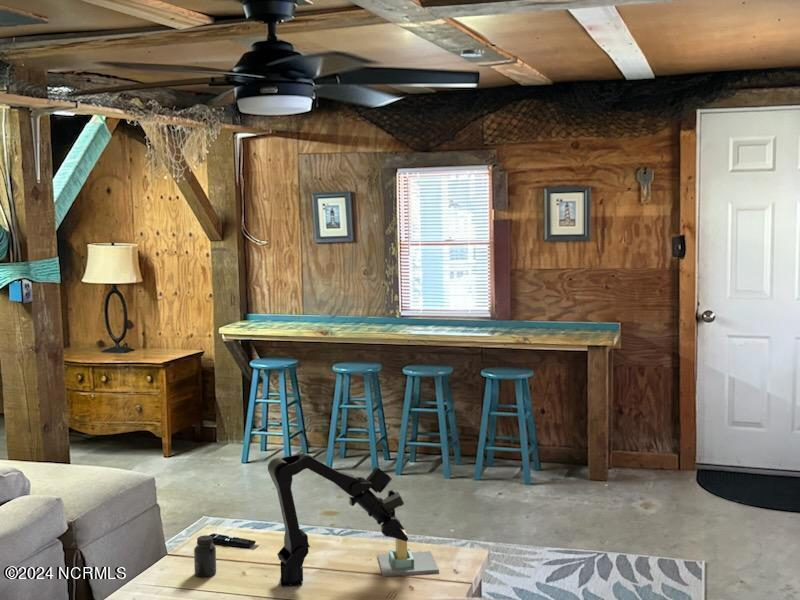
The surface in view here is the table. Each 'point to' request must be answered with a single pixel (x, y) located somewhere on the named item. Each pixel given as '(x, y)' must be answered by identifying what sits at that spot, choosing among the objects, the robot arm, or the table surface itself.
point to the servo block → (401, 548)
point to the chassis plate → (407, 563)
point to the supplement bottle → (205, 557)
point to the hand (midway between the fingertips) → (405, 535)
